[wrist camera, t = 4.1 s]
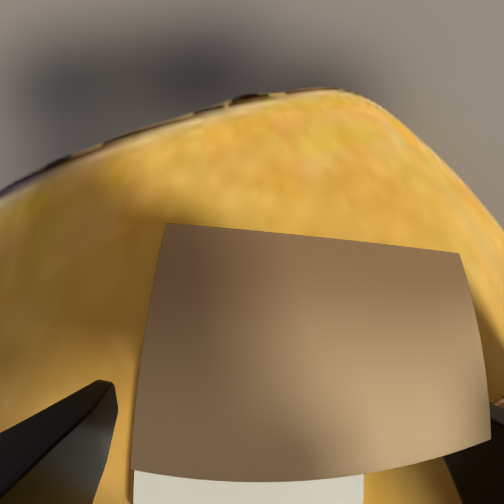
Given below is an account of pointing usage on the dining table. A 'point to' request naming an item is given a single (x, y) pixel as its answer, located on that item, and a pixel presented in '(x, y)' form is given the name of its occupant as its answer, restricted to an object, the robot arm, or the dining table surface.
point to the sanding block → (304, 358)
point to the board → (245, 491)
